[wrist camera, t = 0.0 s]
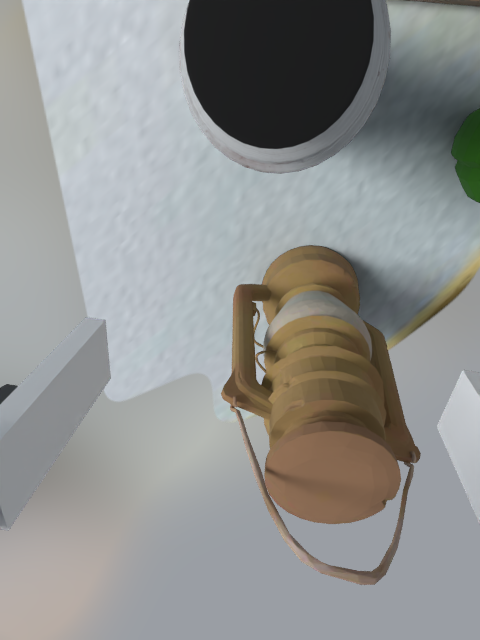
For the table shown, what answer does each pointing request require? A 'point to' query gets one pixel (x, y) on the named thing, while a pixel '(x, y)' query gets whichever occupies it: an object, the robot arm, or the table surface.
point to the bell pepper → (468, 155)
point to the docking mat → (454, 2)
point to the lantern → (320, 400)
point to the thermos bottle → (283, 76)
